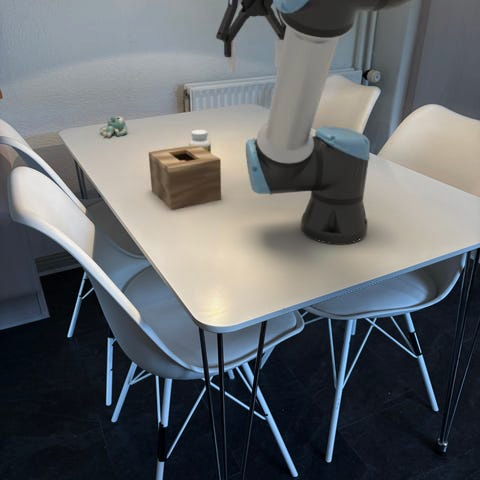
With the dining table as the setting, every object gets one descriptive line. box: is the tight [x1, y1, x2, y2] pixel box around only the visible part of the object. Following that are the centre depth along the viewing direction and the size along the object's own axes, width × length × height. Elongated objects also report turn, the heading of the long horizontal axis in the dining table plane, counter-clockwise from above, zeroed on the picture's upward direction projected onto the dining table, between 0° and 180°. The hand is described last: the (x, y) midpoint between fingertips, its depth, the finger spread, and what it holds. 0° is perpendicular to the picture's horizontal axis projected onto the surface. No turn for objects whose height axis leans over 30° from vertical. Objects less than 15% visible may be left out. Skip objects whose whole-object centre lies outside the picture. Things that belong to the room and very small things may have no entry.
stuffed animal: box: [99, 115, 128, 138], centre depth 182 cm, size 11×7×12 cm
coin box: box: [148, 145, 222, 211], centre depth 130 cm, size 14×14×11 cm
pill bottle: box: [188, 129, 212, 154], centre depth 148 cm, size 6×6×12 cm
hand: (255, 69), depth 122 cm, fingers open, 13 cm apart
